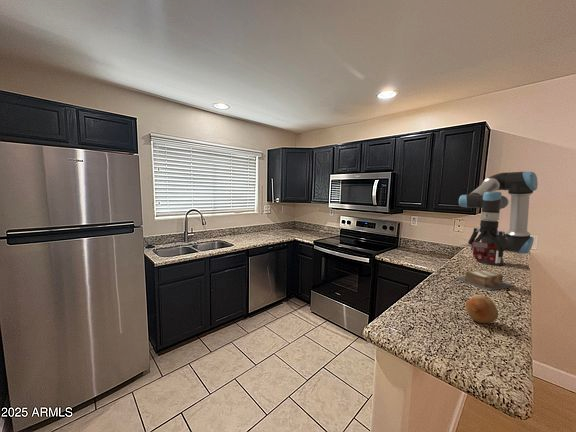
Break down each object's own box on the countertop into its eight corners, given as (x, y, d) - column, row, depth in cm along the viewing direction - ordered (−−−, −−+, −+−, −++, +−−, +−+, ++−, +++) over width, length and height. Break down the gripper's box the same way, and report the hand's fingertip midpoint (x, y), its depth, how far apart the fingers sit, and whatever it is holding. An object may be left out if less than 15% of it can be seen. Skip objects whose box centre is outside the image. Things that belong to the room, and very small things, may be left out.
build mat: (478, 275, 147) (478, 274, 147) (514, 286, 130) (514, 285, 130) (455, 278, 141) (455, 277, 141) (489, 290, 124) (489, 289, 124)
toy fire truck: (501, 263, 126) (501, 243, 125) (471, 260, 134) (471, 241, 133) (500, 261, 131) (501, 242, 131) (472, 258, 139) (472, 240, 139)
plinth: (482, 278, 141) (482, 269, 140) (501, 284, 132) (502, 275, 131) (465, 280, 136) (466, 271, 136) (484, 287, 127) (485, 277, 126)
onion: (464, 312, 101) (467, 289, 100) (496, 320, 95) (498, 296, 94) (463, 321, 93) (465, 297, 92) (497, 331, 87) (500, 305, 86)
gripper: (462, 218, 140) (459, 254, 142) (511, 223, 118) (506, 266, 120) (471, 217, 143) (468, 254, 145) (520, 222, 121) (515, 265, 123)
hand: (485, 259), depth 133 cm, fingers closed on toy fire truck, 11 cm apart
